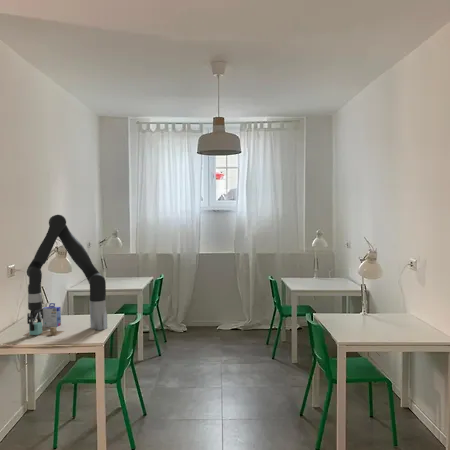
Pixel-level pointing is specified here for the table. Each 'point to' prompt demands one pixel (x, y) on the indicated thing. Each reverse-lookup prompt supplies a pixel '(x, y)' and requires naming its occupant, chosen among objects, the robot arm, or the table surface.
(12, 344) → the table surface
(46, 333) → the board
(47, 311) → the ink cartridge box
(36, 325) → the aqua matte cube
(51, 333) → the tan block
